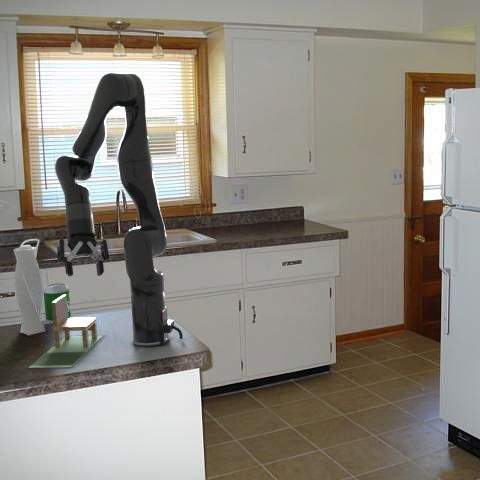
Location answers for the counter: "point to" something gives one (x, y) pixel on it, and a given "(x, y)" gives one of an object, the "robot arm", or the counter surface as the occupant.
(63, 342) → the mat
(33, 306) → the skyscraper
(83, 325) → the chair
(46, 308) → the soda can
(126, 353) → the counter surface
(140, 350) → the counter surface
